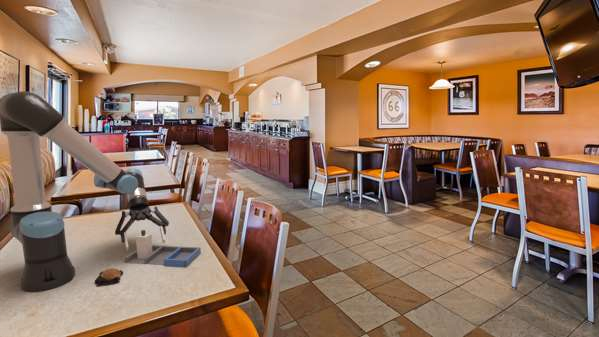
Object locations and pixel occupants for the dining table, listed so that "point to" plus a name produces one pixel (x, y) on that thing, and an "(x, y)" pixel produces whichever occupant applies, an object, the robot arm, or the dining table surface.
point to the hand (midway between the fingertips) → (146, 244)
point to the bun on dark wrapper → (108, 277)
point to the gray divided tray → (166, 256)
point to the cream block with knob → (143, 245)
